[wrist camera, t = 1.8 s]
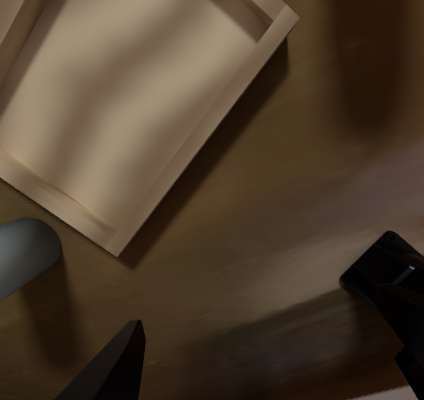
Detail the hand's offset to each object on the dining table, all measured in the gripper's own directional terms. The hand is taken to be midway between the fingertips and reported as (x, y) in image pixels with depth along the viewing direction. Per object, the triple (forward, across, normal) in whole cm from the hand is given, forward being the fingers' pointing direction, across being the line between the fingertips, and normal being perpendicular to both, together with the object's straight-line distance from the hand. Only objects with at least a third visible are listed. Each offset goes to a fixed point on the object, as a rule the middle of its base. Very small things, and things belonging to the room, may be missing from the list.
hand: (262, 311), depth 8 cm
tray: (+13, +7, -11) cm, 19 cm away
